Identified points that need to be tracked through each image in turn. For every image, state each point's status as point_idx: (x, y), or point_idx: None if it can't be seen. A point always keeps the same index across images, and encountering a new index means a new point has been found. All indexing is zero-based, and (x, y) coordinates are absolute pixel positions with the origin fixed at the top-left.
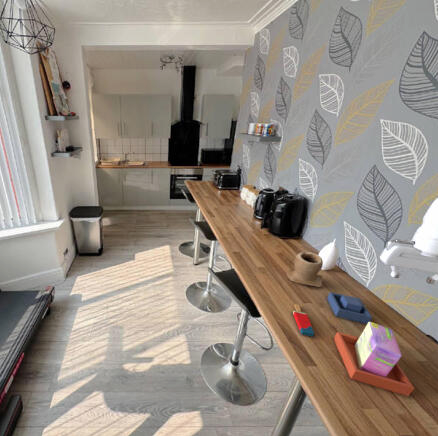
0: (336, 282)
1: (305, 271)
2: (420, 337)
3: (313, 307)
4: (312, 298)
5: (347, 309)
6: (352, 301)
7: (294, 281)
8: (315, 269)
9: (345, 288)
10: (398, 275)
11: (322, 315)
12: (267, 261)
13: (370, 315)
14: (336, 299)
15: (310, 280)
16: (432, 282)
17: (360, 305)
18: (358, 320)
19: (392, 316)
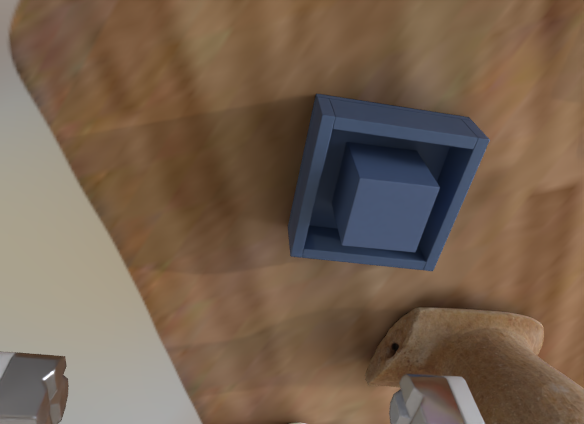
0: (286, 359)
1: (560, 375)
2: (62, 53)
3: (548, 159)
4: (501, 225)
5: (411, 162)
6: (396, 207)
7: (530, 318)
8: (540, 396)
9: (266, 330)
10: (441, 409)
11: (543, 107)
12: None
13: (322, 130)
14: None
15: (474, 334)
16: (26, 377)
17: (368, 183)
18: (368, 105)
19: (133, 187)
